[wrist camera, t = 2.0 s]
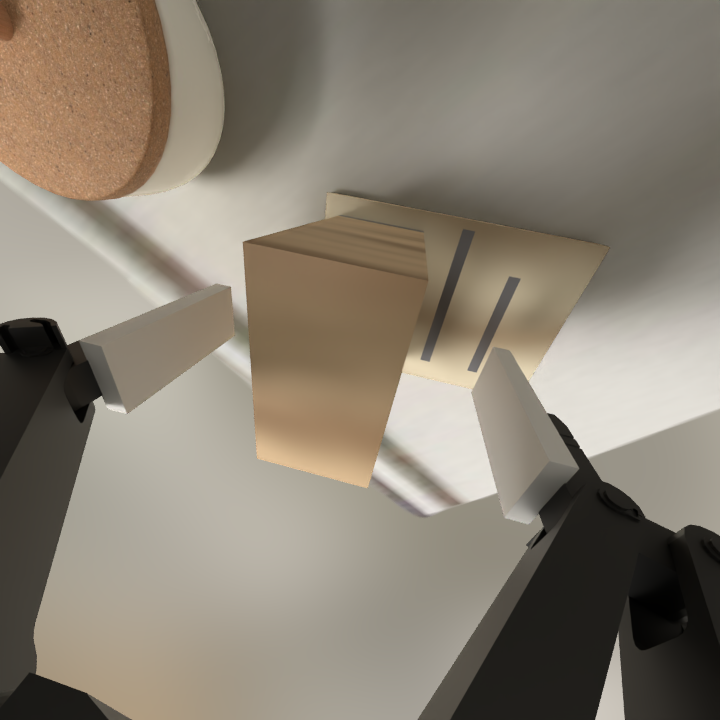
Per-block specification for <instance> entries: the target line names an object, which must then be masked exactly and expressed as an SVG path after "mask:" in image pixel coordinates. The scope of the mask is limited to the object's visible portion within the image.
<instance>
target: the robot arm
mask: <svg viewBox="0 0 720 720" xmlns="http://www.w3.org/2000/svg"><path fill="white" fill-rule="evenodd" d="M233 336H235V331H234V319H233V308H232V296H231V287H229V286H225V285H220V284H214V285H212V286H210V287H207V288H205V289H202V290H200V291H197V292H195V293H193V294H190V295H188V296H185V297H183V298H181V299H178V300H176V301H173V302H171V303H168V304H166V305H164V306H161V307H159V308H156V309H154V310H151V311H149V312H147V313H144V314H142V315H140V316H137V317H135V318H132V319H130V320H127V321H125V322H122V323H120V324H117V325H115V326H113V327H110V328H108V329H105V330H103V331H101V332H98V333H96V334H93V335H91V336H88V337H86V338H84V339H81V340H79V341H76V342H74V343H72V344H69V345H67V344H66V342H65V339H64V337H63V335H62V333H61V331H60V329H59V326H58V324H57V322H56V321H54V320H52V319H47V318H24V319H17V320H13V321H7V322H5V323H2V324H0V346H1V347H2V349H3V350H4V352H5V353H0V720H131V719H129V718H128V717H126V716H124V715H123V714H121V713H119V712H118V711H116V710H114V709H112V708H111V707H109V706H107V705H106V704H104V703H102V702H101V701H99V700H97V699H96V698H94V697H92V696H91V695H88V694H87V693H85V692H82V691H79V690H76V689H74V688H71V687H68V686H66V685H63V684H60V683H58V682H55V681H52V680H50V679H47V678H44V677H41V676H39V675H36V665H37V664H36V663H37V660H36V659H37V655H36V650H35V645H34V639H33V636H34V626H35V622H36V618H37V615H38V611H39V607H40V604H41V601H42V597H43V593H44V590H45V586H46V583H47V579H48V576H49V572H50V569H51V565H52V562H53V558H54V554H55V551H56V547H57V544H58V540H59V537H60V533H61V530H62V526H63V523H64V519H65V516H66V512H67V508H68V505H69V501H70V498H71V494H72V490H73V487H74V484H75V480H76V477H77V473H78V470H79V466H80V463H81V459H82V455H83V451H84V448H85V445H86V441H87V438H88V434H89V431H90V427H91V424H92V420H93V416H94V413H95V406H94V403H93V401H94V400H95V399H97V398H99V397H100V396H102V397H103V399H104V402H105V404H106V406H107V408H108V409H110V410H114V411H118V412H122V413H125V414H128V413H129V412H131V411H132V410H133V409H135V408H136V407H137V406H139V405H140V404H142V403H143V402H144V401H146V400H147V399H148V398H150V397H151V396H152V395H154V394H155V393H156V392H158V391H159V390H161V389H162V388H163V387H165V386H166V385H168V384H169V383H170V382H172V381H173V380H174V379H176V378H177V377H178V376H180V375H181V374H183V373H184V372H185V371H187V370H188V369H189V368H191V367H192V366H193V365H195V364H196V363H198V362H199V361H200V360H202V359H203V358H204V357H206V356H207V355H209V354H210V353H211V352H213V351H214V350H215V349H217V348H218V347H220V346H221V345H222V344H224V343H225V342H226V341H228V340H229V339H231V338H232V337H233ZM471 393H472V397H473V400H474V404H475V408H476V412H477V416H478V420H479V423H480V427H481V431H482V435H483V439H484V442H485V446H486V450H487V454H488V458H489V462H490V465H491V469H492V473H493V477H494V481H495V485H496V488H497V492H498V496H499V500H500V504H501V508H502V511H503V515H504V518H507V519H511V520H514V521H518V522H522V523H525V524H530V522H532V521H533V519H534V518H535V517H536V516H537V515H538V514H539V515H540V518H541V520H542V523H543V526H544V527H543V528H542V529H541V530H540V531H539V532H538V533H537V534H536V535H535V536H534V537H533V538H532V539H531V540H530V541H529V542H528V543H527V546H528V549H527V550H526V552H525V554H524V555H523V557H522V558H521V560H520V561H519V563H518V565H517V566H516V568H515V569H514V571H513V572H512V574H511V575H510V577H509V578H508V580H507V582H506V583H505V585H504V586H503V588H502V589H501V591H500V592H499V594H498V595H497V597H496V599H495V600H494V602H493V603H492V605H491V606H490V608H489V609H488V611H487V613H486V614H485V616H484V617H483V619H482V620H481V622H480V624H479V625H478V627H477V628H476V630H475V632H474V633H473V634H472V636H471V638H470V639H469V641H468V642H467V644H466V645H465V647H464V648H463V650H462V652H461V653H460V655H459V656H458V658H457V659H456V661H455V662H454V664H453V665H452V667H451V669H450V670H449V672H448V673H447V675H446V676H445V678H444V679H443V681H442V683H441V684H440V686H439V687H438V689H437V690H436V692H435V693H434V695H433V697H432V698H431V700H430V701H429V703H428V704H427V706H426V707H425V709H424V710H423V712H422V714H421V715H420V717H419V718H418V720H595V717H596V714H597V710H598V707H599V702H600V699H601V695H602V691H603V688H604V684H605V679H606V676H607V672H608V668H609V665H610V661H611V657H612V653H613V649H614V645H615V642H616V638H617V634H618V632H619V646H620V658H621V659H620V660H621V671H622V672H621V673H622V687H623V700H624V714H625V720H720V536H719V535H717V534H716V533H714V532H712V531H710V530H708V529H705V528H703V527H701V526H696V525H688V526H686V527H684V528H683V529H681V530H680V531H678V532H677V533H675V532H673V531H671V530H669V529H666V528H664V527H662V526H660V525H658V524H656V523H654V522H652V521H650V520H648V519H646V518H645V516H644V514H643V512H642V511H641V509H640V507H639V506H638V505H637V504H636V503H635V502H634V501H633V500H632V499H631V498H630V497H629V496H627V495H626V494H625V493H624V492H622V491H621V490H619V489H618V488H616V487H614V486H612V485H611V484H609V483H606V482H603V481H602V480H601V479H600V477H599V476H598V474H597V473H596V471H595V470H594V468H593V466H592V465H591V463H590V462H589V460H588V459H587V457H586V455H585V454H584V452H583V451H582V449H580V446H579V445H578V443H577V441H576V440H575V439H573V438H574V437H573V435H572V434H571V432H570V431H569V429H568V427H567V426H566V425H565V424H564V423H563V422H562V421H561V420H560V419H559V418H557V417H556V416H555V415H553V414H549V413H546V411H545V409H544V407H543V406H542V404H541V402H540V401H539V399H538V397H537V396H536V394H535V392H534V390H533V389H532V387H531V385H530V384H529V382H528V380H527V379H526V377H525V375H524V373H523V372H522V370H521V368H520V367H519V365H518V363H517V362H516V360H515V358H514V356H513V355H512V353H511V351H510V350H506V349H502V348H497V347H493V348H492V350H491V352H490V355H489V357H488V359H487V361H486V363H485V365H484V367H483V369H482V371H481V374H480V376H479V378H478V380H477V382H476V384H475V386H474V388H473V390H472V392H471Z"/></svg>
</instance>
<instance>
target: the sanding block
mask: <svg viewBox="0 0 720 720" xmlns="http://www.w3.org/2000/svg"><path fill="white" fill-rule="evenodd" d="M243 252H244V267H245V282H246V297H247V313H248V328H249V343H250V358H251V373H252V389H253V404H254V419H255V434H256V450H257V459H261V460H265V461H268V462H272V463H276V464H280V465H283V466H287V467H291V468H294V469H298V470H302V471H305V472H309V473H313V474H317V475H320V476H324V477H328V478H331V479H335V480H339V481H342V482H346V483H350V484H354V485H357V486H361V487H365V488H368V485H369V482H370V479H371V475H372V472H373V468H374V465H375V462H376V458H377V455H378V451H379V448H380V445H381V441H382V438H383V434H384V431H385V428H386V424H387V421H388V417H389V414H390V411H391V407H392V404H393V400H394V397H395V394H396V390H397V387H398V383H399V380H400V377H401V373H402V370H403V366H404V363H405V360H406V356H407V353H408V349H409V346H410V343H411V339H412V336H413V332H414V329H415V325H416V322H417V319H418V315H419V312H420V308H421V305H422V302H423V298H424V295H425V291H426V288H427V285H428V281H429V280H428V270H427V260H426V250H425V240H424V231H421V230H416V229H411V228H406V227H401V226H395V225H390V224H385V223H380V222H375V221H370V220H365V219H360V218H355V217H350V216H345V215H339V216H335V217H332V218H328V219H324V220H321V221H317V222H313V223H310V224H306V225H302V226H299V227H295V228H291V229H288V230H284V231H281V232H277V233H273V234H270V235H266V236H262V237H259V238H255V239H251V240H248V241H244V242H243Z"/></svg>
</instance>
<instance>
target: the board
mask: <svg viewBox="0 0 720 720" xmlns="http://www.w3.org/2000/svg"><path fill="white" fill-rule="evenodd" d="M339 215H345V216H350V217H355V218H360V219H365V220H370V221H375V222H380V223H385V224H390V225H395V226H401V227H406V228H411V229H416V230H421V231H424V240H425V250H426V260H427V270H428V280H429V281H428V285H427V288H426V291H425V295H424V298H423V302H422V305H421V308H420V312H419V315H418V319H417V322H416V325H415V329H414V332H413V336H412V339H411V343H410V346H409V349H408V353H407V356H406V360H405V363H404V366H403V370H402V373H406V374H410V375H414V376H418V377H423V378H427V379H431V380H435V381H440V382H444V383H448V384H452V385H457V386H461V387H465V388H469V389H473V388H474V386H475V384H476V382H477V380H478V378H479V376H480V374H481V371H482V369H483V367H484V365H485V363H486V361H487V359H488V357H489V355H490V352H491V350H492V348H493V347H497V348H502V349H506V350H510V351H511V353H512V355H513V356H514V358H515V360H516V362H517V363H518V365H519V367H520V368H521V370H522V372H523V373H524V375H525V377H526V379H527V380H528V381H529V380H530V378H531V376H532V375H533V373H534V372H535V370H536V368H537V367H538V365H539V363H540V362H541V360H542V358H543V357H544V355H545V354H546V352H547V350H548V349H549V347H550V345H551V344H552V342H553V340H554V339H555V337H556V336H557V334H558V332H559V331H560V329H561V327H562V326H563V324H564V322H565V321H566V319H567V318H568V316H569V314H570V313H571V311H572V309H573V308H574V306H575V304H576V303H577V301H578V299H579V298H580V296H581V295H582V293H583V291H584V290H585V288H586V286H587V285H588V283H589V281H590V280H591V278H592V277H593V275H594V273H595V272H596V270H597V268H598V267H599V265H600V263H601V262H602V260H603V259H604V257H605V255H606V254H607V252H608V250H609V249H610V247H608V246H605V245H601V244H597V243H592V242H587V241H581V240H576V239H571V238H566V237H561V236H555V235H550V234H545V233H540V232H535V231H530V230H524V229H519V228H514V227H509V226H504V225H498V224H493V223H488V222H483V221H478V220H472V219H467V218H462V217H457V216H452V215H446V214H441V213H436V212H431V211H426V210H420V209H415V208H410V207H405V206H400V205H395V204H389V203H384V202H379V201H374V200H369V199H363V198H358V197H353V196H348V195H343V194H337V193H328V192H327V198H326V211H325V219H328V218H332V217H335V216H339Z"/></svg>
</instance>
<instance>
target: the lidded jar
mask: <svg viewBox="0 0 720 720" xmlns="http://www.w3.org/2000/svg"><path fill="white" fill-rule="evenodd" d="M224 113H225V102H224V88H223V81H222V74H221V69H220V65H219V61H218V57H217V53H216V49H215V46H214V43H213V40H212V37H211V34H210V32H209V29H208V26H207V24H206V22H205V20H204V18H203V15H202V13H201V11H200V9H199V7H198V5H197V3H196V0H0V161H1V162H2V163H3V164H5V165H6V166H8V167H9V168H10V169H12V170H13V171H14V172H16V173H17V174H19V175H21V176H22V177H24V178H25V179H27V180H29V181H30V182H32V183H33V184H35V185H37V186H39V187H41V188H44V189H46V190H48V191H50V192H52V193H55V194H57V195H61V196H64V197H68V198H71V199H78V200H88V201H96V200H108V199H117V198H121V197H131V196H143V195H152V194H157V193H162V192H166V191H169V190H171V189H174V188H177V187H179V186H182V185H184V184H186V183H188V182H189V181H191V180H192V179H194V178H195V177H196V176H197V175H199V174H200V173H201V172H202V171H203V170H204V168H205V167H206V166H207V165H208V164H209V162H210V161H211V159H212V157H213V156H214V154H215V151H216V149H217V146H218V144H219V141H220V138H221V134H222V129H223V124H224Z"/></svg>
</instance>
